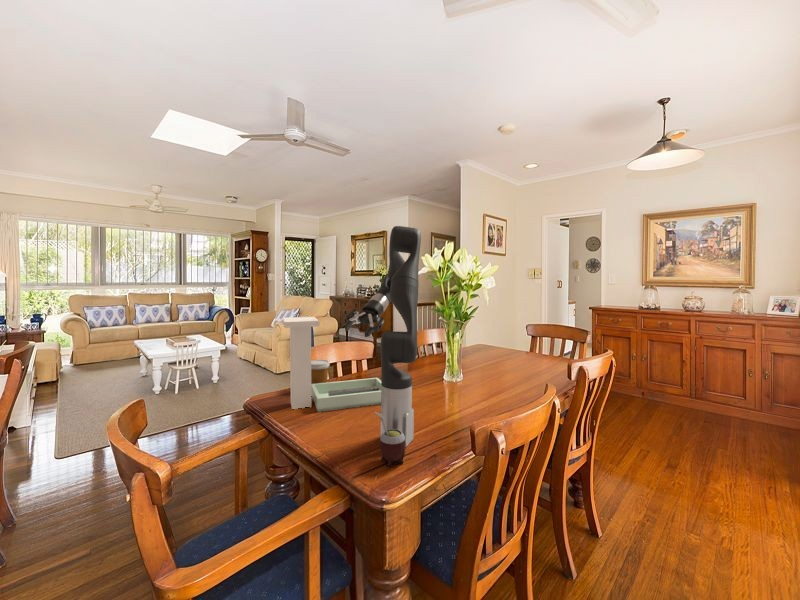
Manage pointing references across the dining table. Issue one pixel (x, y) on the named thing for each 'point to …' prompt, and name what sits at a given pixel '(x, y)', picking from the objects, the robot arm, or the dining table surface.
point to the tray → (347, 400)
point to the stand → (300, 359)
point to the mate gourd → (392, 445)
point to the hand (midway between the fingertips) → (355, 332)
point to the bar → (353, 391)
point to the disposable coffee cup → (319, 371)
